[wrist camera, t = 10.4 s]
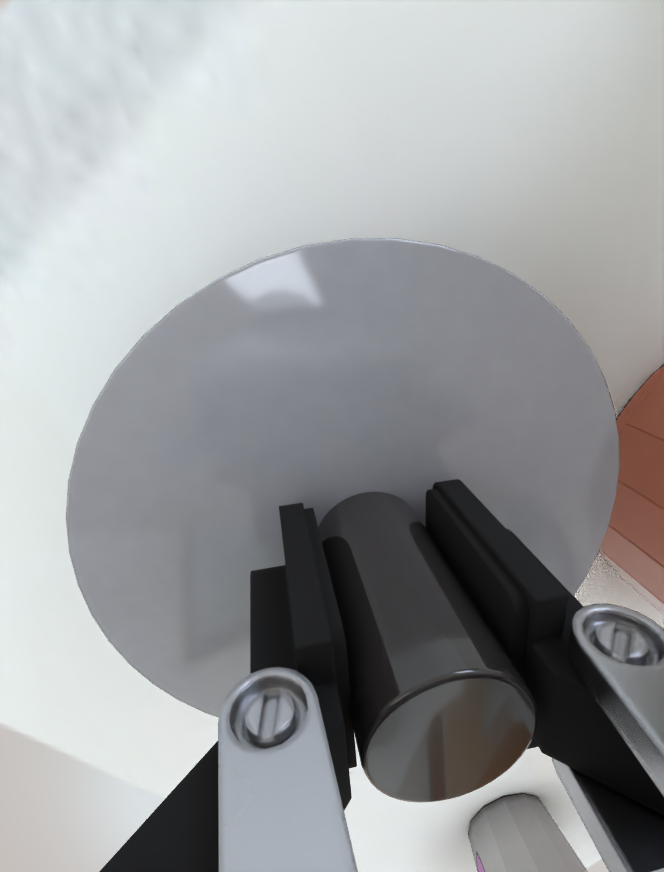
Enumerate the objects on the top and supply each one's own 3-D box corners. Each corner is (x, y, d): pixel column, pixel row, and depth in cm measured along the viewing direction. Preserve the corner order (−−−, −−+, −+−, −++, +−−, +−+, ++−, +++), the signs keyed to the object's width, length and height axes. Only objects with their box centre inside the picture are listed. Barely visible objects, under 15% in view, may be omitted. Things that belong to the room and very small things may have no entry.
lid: (625, 217, 10) (1088, 170, 5) (558, 650, 15) (741, 884, 10) (-2, 267, 9) (-481, 290, 3) (154, 734, 14) (85, 1076, 8)
